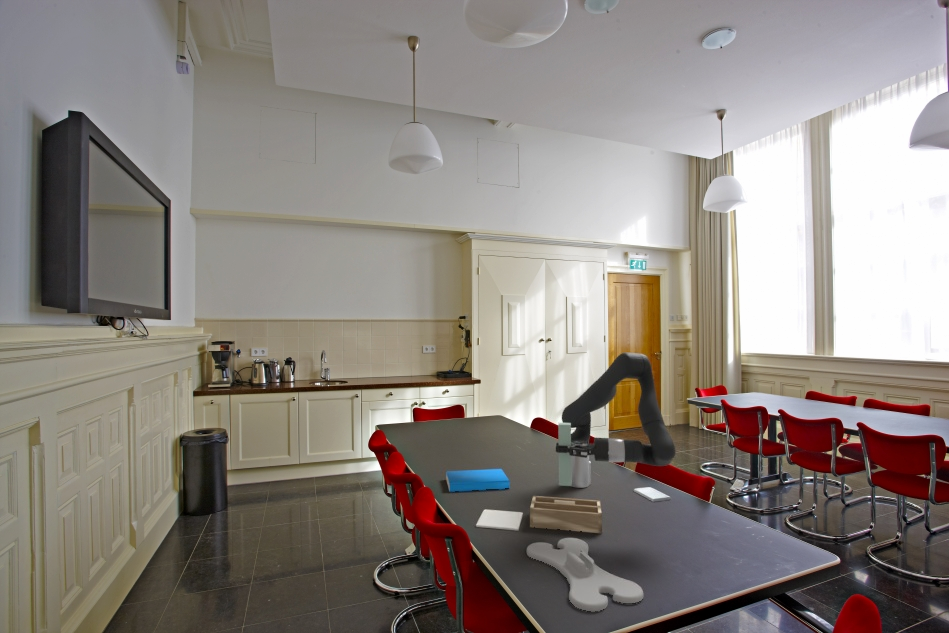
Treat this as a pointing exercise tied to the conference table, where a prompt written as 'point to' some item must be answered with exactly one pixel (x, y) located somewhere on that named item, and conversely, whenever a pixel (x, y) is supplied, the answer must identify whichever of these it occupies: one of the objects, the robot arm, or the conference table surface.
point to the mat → (500, 519)
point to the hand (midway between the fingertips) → (556, 447)
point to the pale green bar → (564, 454)
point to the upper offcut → (564, 502)
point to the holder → (585, 575)
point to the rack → (566, 514)
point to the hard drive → (652, 494)
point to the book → (476, 480)
